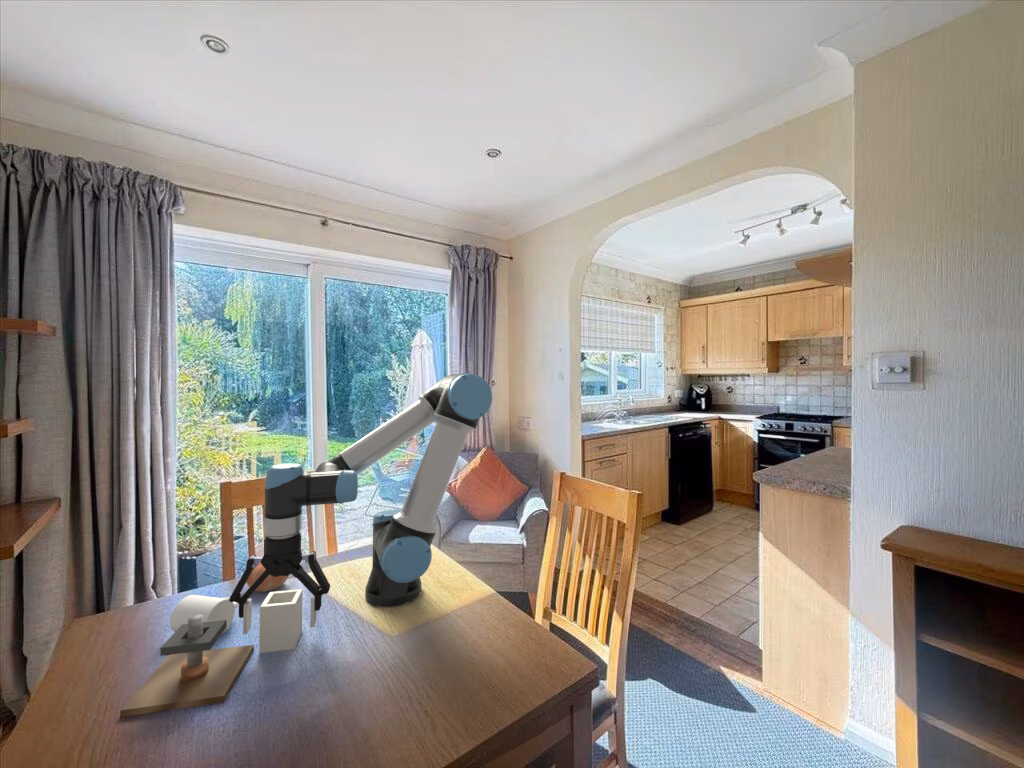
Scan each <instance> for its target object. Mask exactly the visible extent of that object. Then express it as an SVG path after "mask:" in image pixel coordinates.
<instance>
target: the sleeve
mask: <svg viewBox="0 0 1024 768" xmlns="http://www.w3.org/2000/svg"><path fill="white" fill-rule="evenodd" d="M303 592H304V590H303V589H302V588H299V589H288V590H287V589H286V590H277V591H269V593H268V594H267V596H266V597H265V598H264V600H263V602H262V604H261V605H260V606H259V641H258V642H259V645H258V646H259V652H258V653H259V654H264V653H265V654H266V653H273V652H282V651H291V650H295V649H296V647H297V644H298V642H299V640H300V639H301V638H300V637H301V635H302V632H303V597H304V595H303V594H304V593H303Z"/></svg>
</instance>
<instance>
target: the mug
mask: <svg viewBox="0 0 1024 768" xmlns="http://www.w3.org/2000/svg"><path fill="white" fill-rule="evenodd" d="M229 598H230V596H228V597H227V596H226V597H214V596H207V595H200V594H199V595H198V594H190V595H187V596H185V597H183V598H182V599H181V600H180V601H179V602H177V604H176V605H175V607H174V608H173V610H172V612H171V614H170V618H169V625H170V629H171V630H172V631H173V632H174V633H175V632H176V631H177V630H178V629H179V627H180V626H181V625H183V624H188V619H189V618H190V617H192V616H194V615H203V622H211V621H221V620H227V627H226V628H225V630H224V631H223V633H222V634H221V635H220V636H222V635H223V634H224V633H225V632H226V631H227V630H228V629H229V627H230V626H231V625H232V622H233V621H234V617H235V613H236V608H237V607H239V604H238V603H237V602H230V601H229Z"/></svg>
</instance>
